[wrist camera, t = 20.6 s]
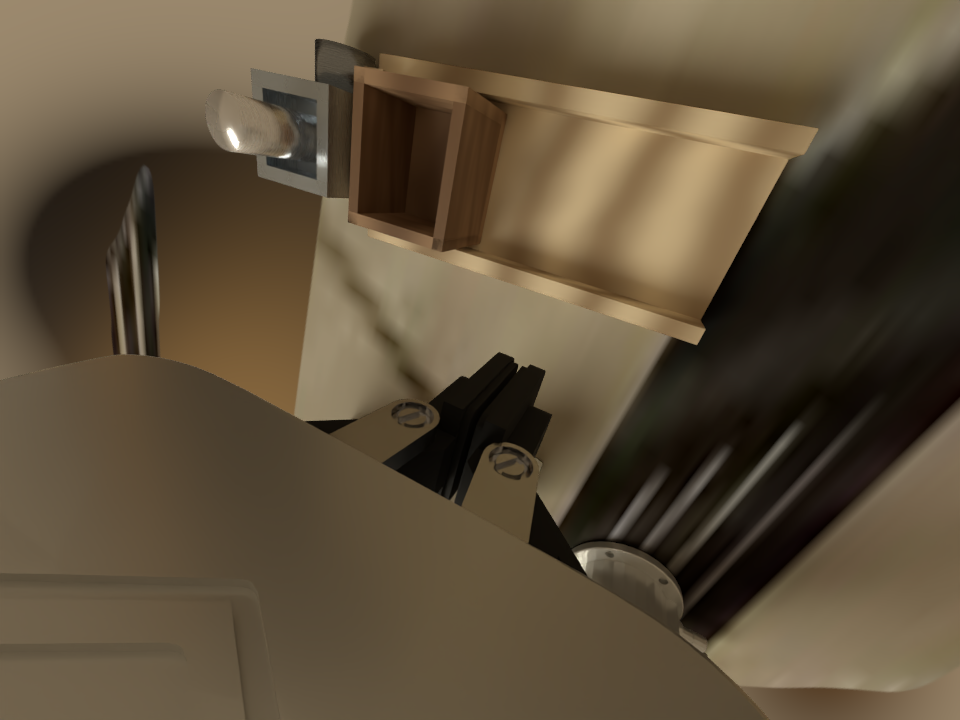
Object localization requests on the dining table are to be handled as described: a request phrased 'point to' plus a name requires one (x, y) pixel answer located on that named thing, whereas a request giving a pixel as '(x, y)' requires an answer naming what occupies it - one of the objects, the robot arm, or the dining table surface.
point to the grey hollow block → (333, 113)
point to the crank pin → (260, 127)
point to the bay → (615, 195)
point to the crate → (422, 158)
